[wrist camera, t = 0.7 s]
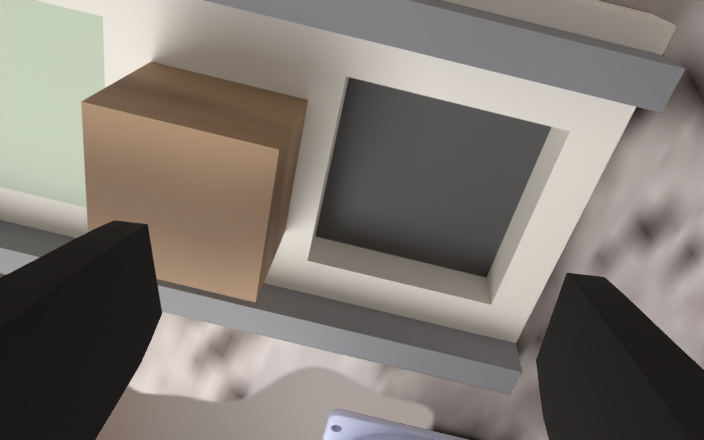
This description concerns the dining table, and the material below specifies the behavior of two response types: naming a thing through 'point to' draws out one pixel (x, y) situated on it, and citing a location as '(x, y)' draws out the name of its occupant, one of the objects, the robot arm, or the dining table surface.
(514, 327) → the deck
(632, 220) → the dining table surface
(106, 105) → the block
